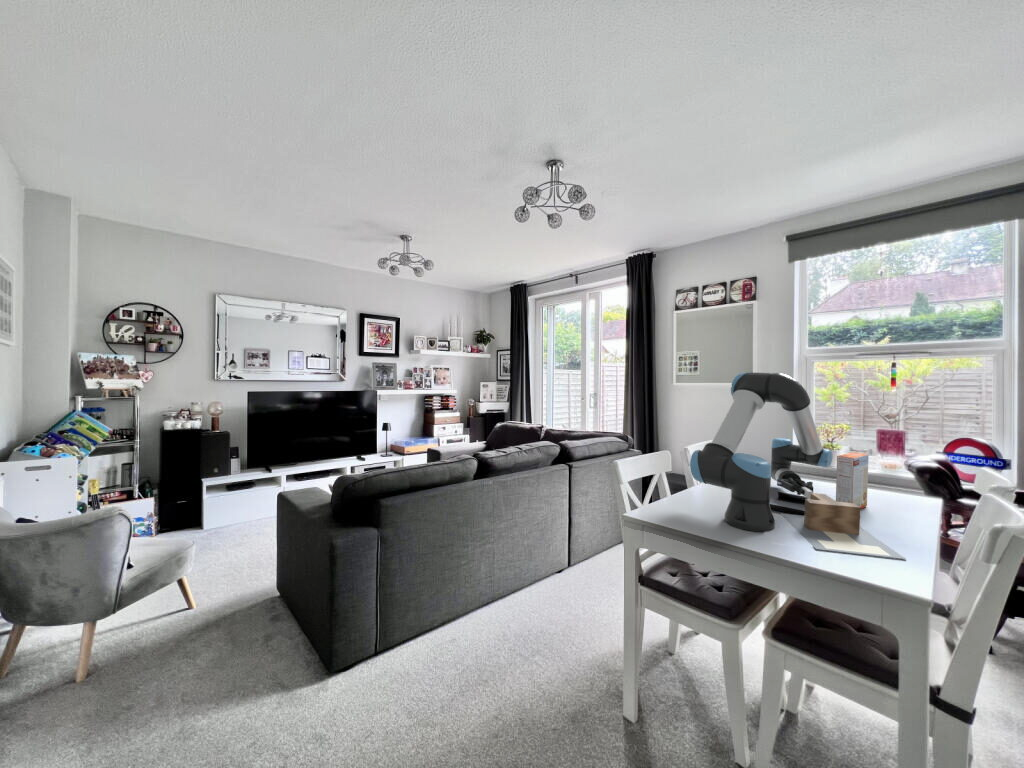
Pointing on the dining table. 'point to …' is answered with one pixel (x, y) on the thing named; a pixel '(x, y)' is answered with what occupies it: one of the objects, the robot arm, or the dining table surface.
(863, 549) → the mat
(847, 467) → the cracker box
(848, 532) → the t block
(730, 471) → the robot arm
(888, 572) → the dining table surface
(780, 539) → the dining table surface
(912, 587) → the dining table surface
